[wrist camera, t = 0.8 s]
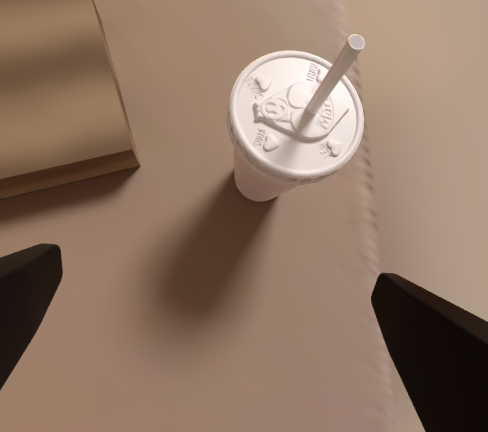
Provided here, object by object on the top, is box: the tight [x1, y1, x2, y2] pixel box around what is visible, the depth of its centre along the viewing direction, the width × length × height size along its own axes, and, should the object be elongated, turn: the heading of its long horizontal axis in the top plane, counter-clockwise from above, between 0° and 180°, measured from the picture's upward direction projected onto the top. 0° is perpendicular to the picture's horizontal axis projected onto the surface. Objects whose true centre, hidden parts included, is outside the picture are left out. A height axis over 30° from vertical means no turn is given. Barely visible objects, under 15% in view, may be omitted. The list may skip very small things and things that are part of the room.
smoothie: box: [226, 34, 365, 202], centre depth 17 cm, size 6×6×14 cm
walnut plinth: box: [0, 0, 140, 199], centre depth 21 cm, size 12×12×3 cm
